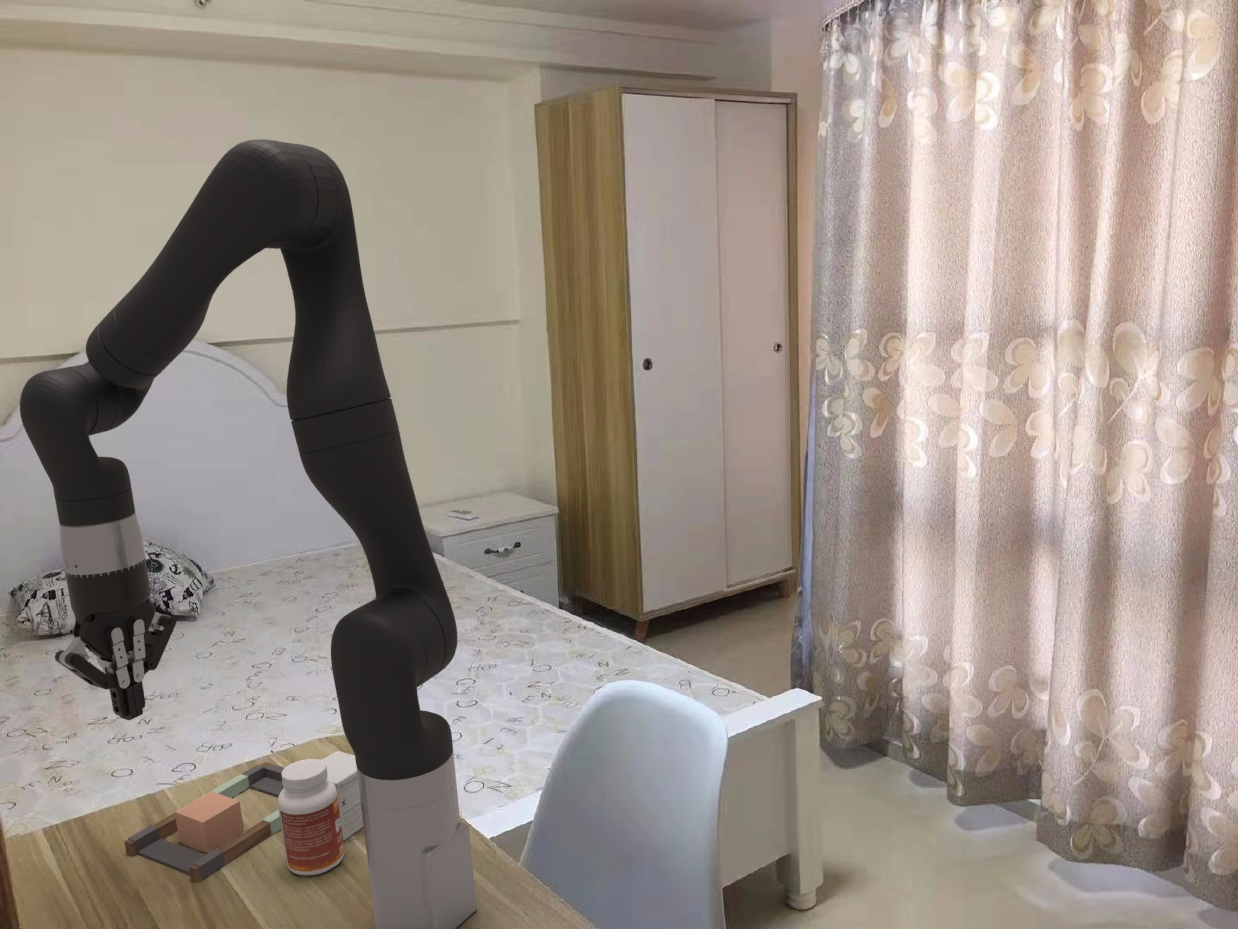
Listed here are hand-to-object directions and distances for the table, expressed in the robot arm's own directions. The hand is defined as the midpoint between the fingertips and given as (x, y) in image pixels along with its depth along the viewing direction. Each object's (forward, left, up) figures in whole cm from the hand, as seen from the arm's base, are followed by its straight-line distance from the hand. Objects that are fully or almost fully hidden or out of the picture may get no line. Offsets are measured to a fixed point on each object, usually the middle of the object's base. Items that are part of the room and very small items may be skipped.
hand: (131, 716), depth 111 cm
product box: (-12, -16, -18) cm, 27 cm away
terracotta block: (0, -7, -18) cm, 20 cm away
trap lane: (0, -11, -18) cm, 21 cm away
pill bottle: (-15, -9, -18) cm, 25 cm away
